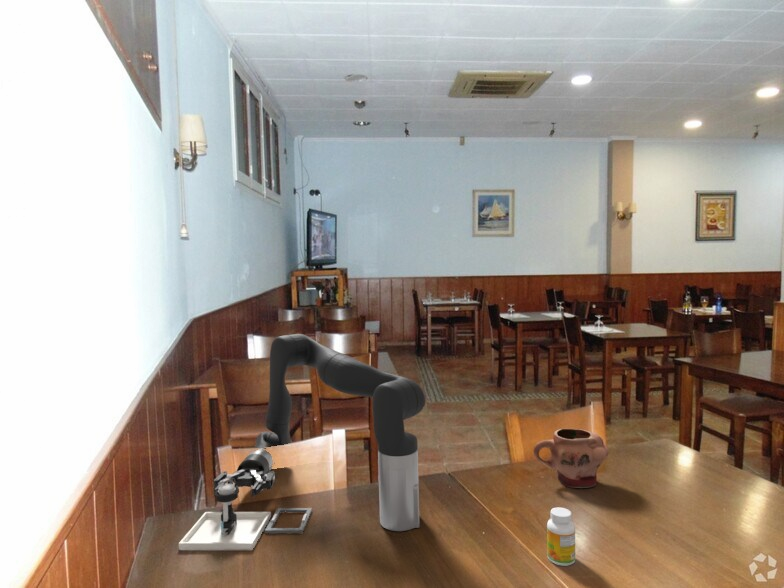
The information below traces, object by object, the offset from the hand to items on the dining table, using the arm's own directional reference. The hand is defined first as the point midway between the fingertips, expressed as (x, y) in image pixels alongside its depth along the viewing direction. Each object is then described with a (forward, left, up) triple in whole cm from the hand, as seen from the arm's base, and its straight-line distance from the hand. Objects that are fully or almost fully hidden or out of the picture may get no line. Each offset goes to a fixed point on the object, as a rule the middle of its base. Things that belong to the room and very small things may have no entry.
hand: (235, 493), depth 121 cm
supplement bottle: (-72, +16, -7) cm, 74 cm away
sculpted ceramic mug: (-85, -20, -7) cm, 88 cm away
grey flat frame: (-13, +1, -6) cm, 15 cm away
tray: (0, +6, -6) cm, 9 cm away
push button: (0, +6, -6) cm, 9 cm away
